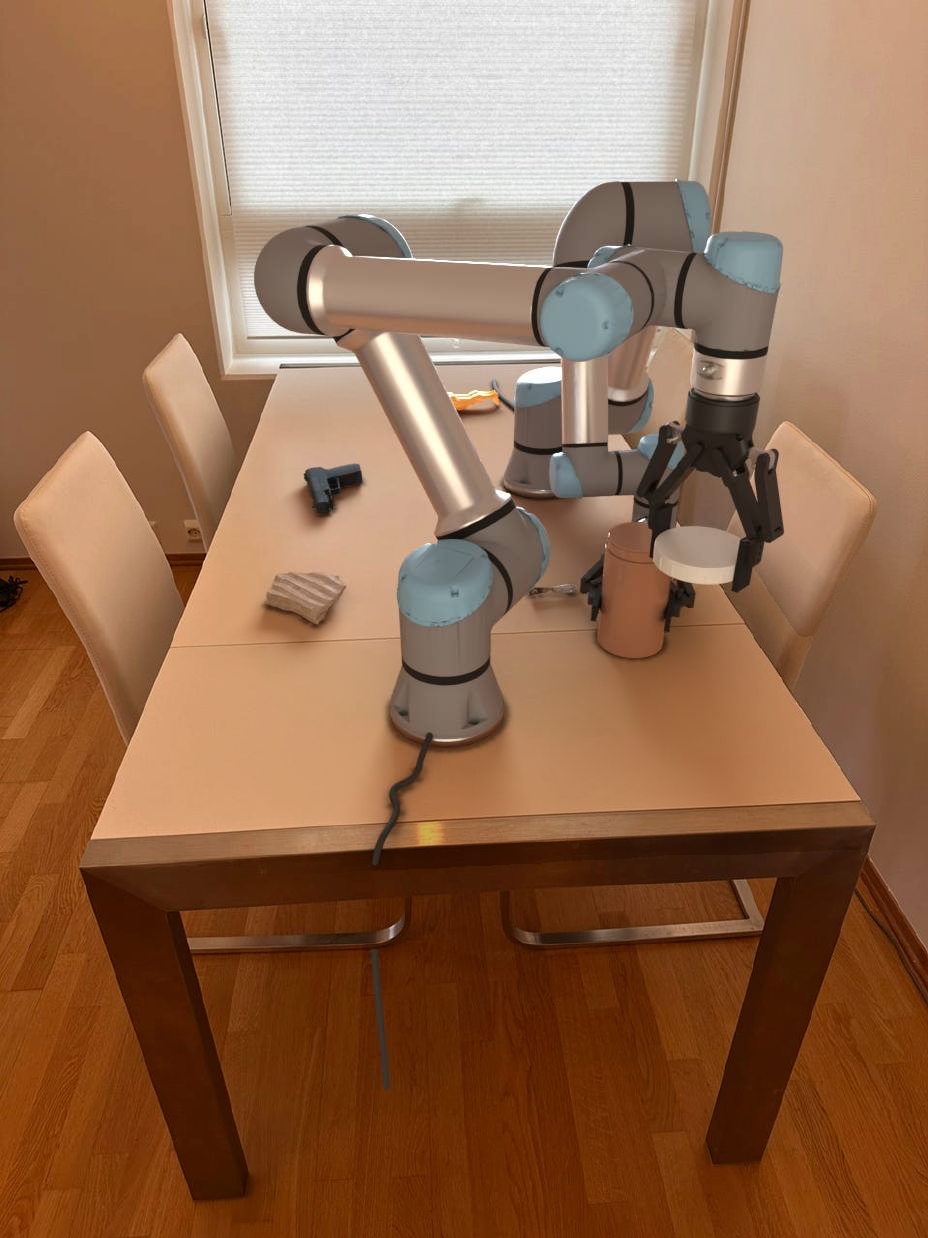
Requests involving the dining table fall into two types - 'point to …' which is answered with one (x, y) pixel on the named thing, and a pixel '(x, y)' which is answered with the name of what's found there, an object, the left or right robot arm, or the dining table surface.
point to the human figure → (472, 398)
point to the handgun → (330, 484)
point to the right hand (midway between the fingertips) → (630, 618)
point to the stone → (305, 593)
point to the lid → (697, 554)
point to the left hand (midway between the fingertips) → (697, 570)
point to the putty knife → (554, 589)
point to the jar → (632, 594)
